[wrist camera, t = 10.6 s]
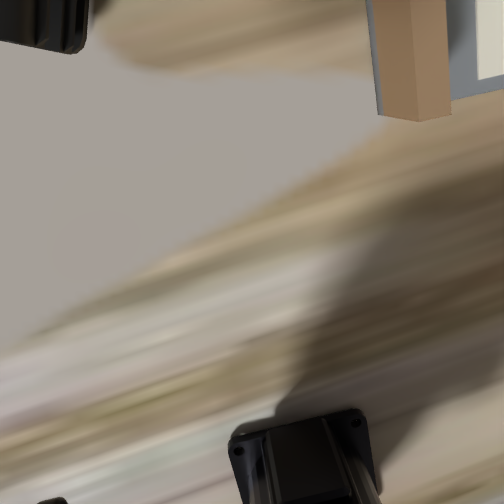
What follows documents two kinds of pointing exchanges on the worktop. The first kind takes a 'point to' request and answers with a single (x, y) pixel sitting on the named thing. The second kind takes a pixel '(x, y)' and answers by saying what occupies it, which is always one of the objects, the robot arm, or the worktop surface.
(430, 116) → the arena
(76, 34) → the end cap
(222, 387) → the worktop surface
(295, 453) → the robot arm
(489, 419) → the worktop surface
